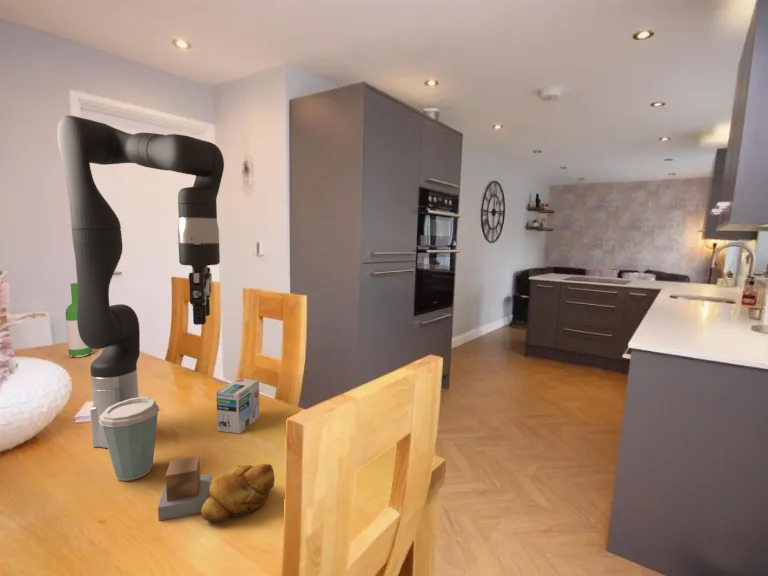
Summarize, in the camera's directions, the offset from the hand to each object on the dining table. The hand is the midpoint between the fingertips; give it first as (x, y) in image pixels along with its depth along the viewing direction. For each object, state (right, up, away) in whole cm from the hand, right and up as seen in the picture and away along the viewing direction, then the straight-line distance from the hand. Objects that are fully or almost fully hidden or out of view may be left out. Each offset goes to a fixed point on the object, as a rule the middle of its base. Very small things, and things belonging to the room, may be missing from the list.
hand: (202, 319), depth 83 cm
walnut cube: (0, -32, -7) cm, 32 cm away
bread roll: (+10, -35, -8) cm, 37 cm away
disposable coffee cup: (-16, -33, +2) cm, 36 cm away
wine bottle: (-88, -22, +82) cm, 122 cm away
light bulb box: (-1, -30, +25) cm, 39 cm away
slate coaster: (0, -34, -7) cm, 35 cm away
